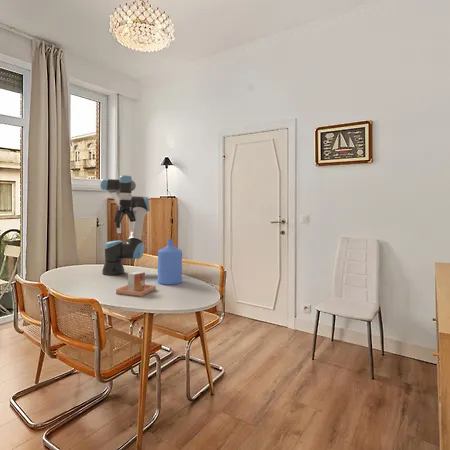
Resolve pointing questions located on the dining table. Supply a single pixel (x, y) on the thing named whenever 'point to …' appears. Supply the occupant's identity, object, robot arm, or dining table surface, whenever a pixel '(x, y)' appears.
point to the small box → (136, 281)
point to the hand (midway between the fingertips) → (125, 232)
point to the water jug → (169, 265)
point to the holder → (125, 291)
